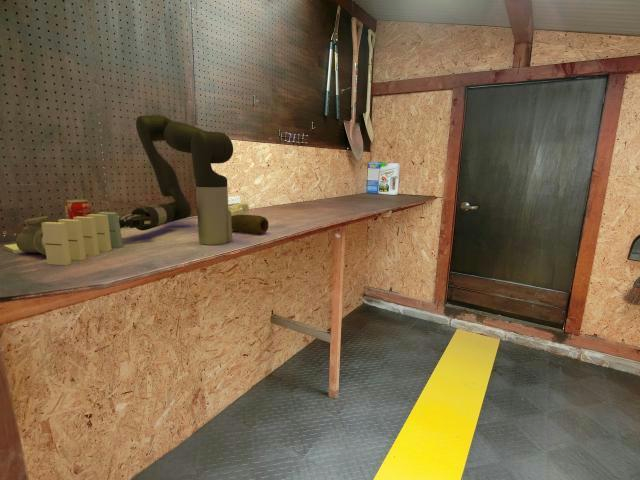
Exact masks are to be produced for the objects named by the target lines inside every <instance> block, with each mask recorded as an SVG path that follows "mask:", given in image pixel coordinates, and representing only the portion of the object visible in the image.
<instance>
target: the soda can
mask: <svg viewBox="0 0 640 480" xmlns="http://www.w3.org/2000/svg"><path fill="white" fill-rule="evenodd" d="M64 211H65V212H64V213H65V214H64V215H65V219H72V220H73V217H78V216H79V217H87V215H89V214H93V210H92V205H91V203H90V202H89V199H68V200H66V203H65V206H64Z"/></svg>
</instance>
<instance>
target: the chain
mask: <svg viewBox="0 0 640 480" xmlns="http://www.w3.org/2000/svg"><path fill="white" fill-rule="evenodd" d="M228 211H231V216H234V215H249V213H250V212H249V211H250V209H249V205H248V203H245V202H244V203H243V202H241V203H235V204H233V206H232V207H231V206H230V205H228Z"/></svg>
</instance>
